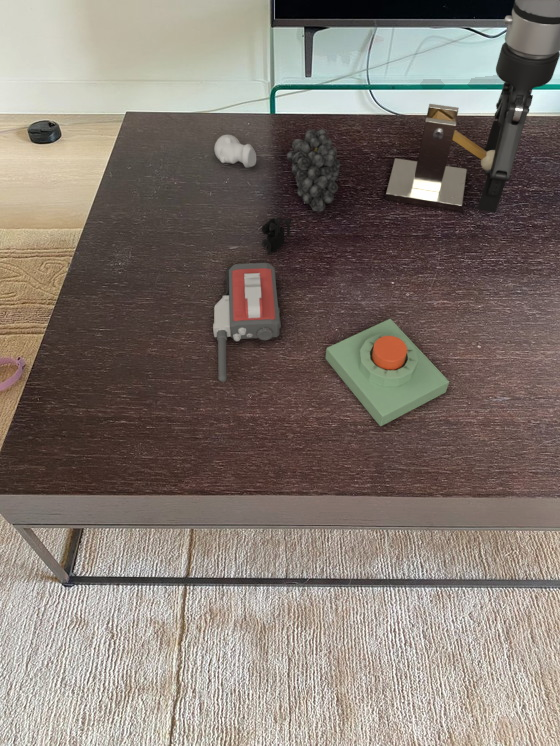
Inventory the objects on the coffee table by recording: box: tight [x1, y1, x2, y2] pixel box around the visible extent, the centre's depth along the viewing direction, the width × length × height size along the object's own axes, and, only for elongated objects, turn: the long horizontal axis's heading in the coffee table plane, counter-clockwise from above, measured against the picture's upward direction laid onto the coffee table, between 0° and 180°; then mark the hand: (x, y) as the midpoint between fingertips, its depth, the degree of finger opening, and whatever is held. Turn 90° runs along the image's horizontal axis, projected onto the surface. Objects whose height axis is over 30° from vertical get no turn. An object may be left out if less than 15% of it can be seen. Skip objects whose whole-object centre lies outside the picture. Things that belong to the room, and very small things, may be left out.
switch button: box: [372, 336, 407, 370], centre depth 75 cm, size 4×4×2 cm
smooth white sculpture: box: [213, 134, 257, 169], centre depth 105 cm, size 4×8×5 cm
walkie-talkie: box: [212, 262, 282, 383], centre depth 81 cm, size 9×4×20 cm
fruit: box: [286, 128, 341, 213], centre depth 98 cm, size 9×8×15 cm
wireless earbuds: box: [261, 216, 292, 257], centre depth 91 cm, size 7×2×5 cm, turn 145°
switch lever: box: [432, 111, 495, 171], centre depth 94 cm, size 13×3×3 cm, turn 75°
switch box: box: [325, 318, 450, 427], centre depth 77 cm, size 12×10×4 cm
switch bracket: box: [384, 103, 468, 213], centre depth 97 cm, size 12×10×13 cm
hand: (488, 183), depth 99 cm, fingers open, 13 cm apart
